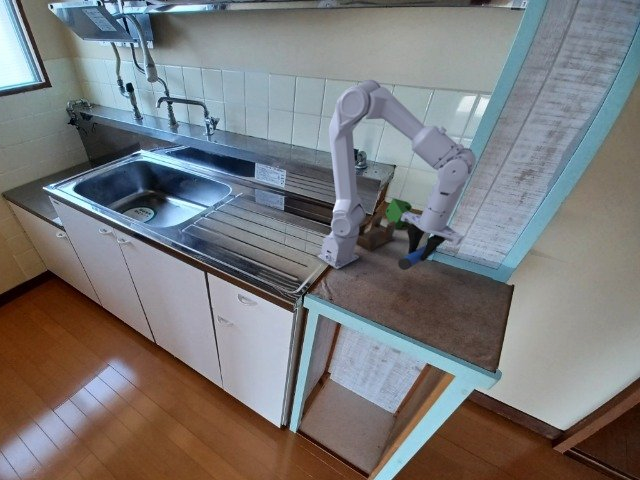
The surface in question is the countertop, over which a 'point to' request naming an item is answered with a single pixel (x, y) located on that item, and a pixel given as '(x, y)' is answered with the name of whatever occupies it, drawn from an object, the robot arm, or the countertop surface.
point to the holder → (375, 234)
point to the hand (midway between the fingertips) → (417, 255)
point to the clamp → (398, 211)
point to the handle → (412, 258)
